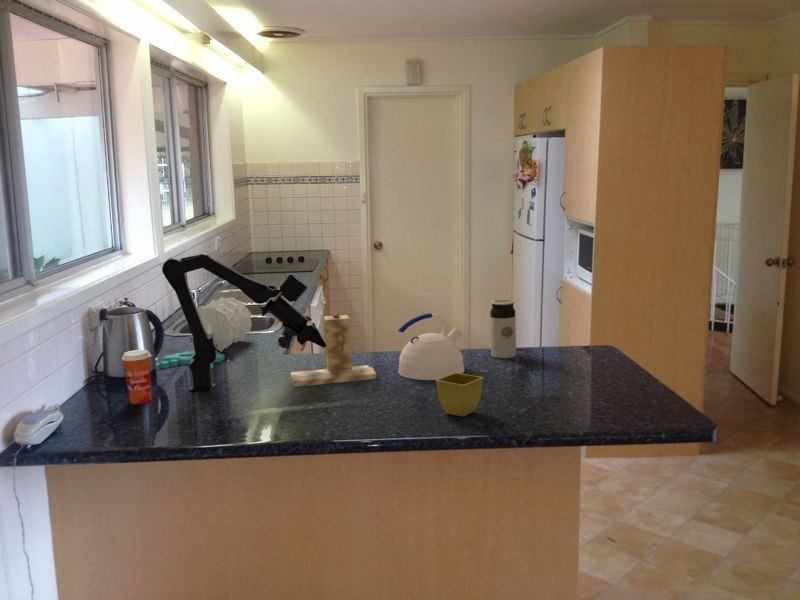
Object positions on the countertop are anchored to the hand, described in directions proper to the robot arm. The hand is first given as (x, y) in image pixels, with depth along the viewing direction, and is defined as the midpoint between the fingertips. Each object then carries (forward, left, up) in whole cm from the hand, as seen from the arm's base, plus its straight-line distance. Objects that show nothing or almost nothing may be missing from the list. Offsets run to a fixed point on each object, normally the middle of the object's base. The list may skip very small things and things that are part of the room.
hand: (325, 346), depth 223 cm
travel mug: (+20, -55, -10) cm, 59 cm away
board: (-2, -2, -9) cm, 10 cm away
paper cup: (-20, +49, -10) cm, 54 cm away
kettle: (+4, -32, -10) cm, 33 cm away
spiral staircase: (+44, +45, -10) cm, 64 cm away
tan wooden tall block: (-4, -5, -8) cm, 10 cm away
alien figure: (+22, +49, -10) cm, 55 cm away
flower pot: (-36, -40, -10) cm, 55 cm away
